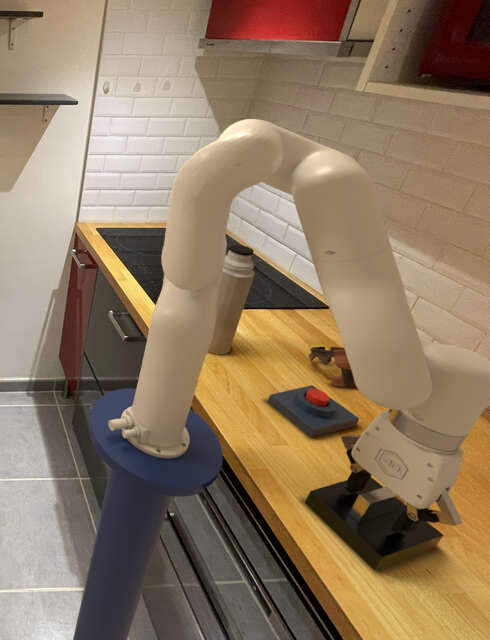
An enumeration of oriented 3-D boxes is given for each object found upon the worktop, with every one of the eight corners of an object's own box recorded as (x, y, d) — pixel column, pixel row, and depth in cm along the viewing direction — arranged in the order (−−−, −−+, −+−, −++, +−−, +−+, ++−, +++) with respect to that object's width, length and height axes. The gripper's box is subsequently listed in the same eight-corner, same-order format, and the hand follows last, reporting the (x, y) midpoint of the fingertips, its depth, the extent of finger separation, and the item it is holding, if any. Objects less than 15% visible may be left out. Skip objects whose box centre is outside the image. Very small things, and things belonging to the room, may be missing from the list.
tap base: (374, 569, 66) (382, 557, 65) (304, 502, 76) (310, 490, 75) (435, 547, 70) (444, 535, 68) (360, 485, 79) (367, 473, 78)
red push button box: (310, 437, 89) (317, 422, 87) (267, 402, 98) (272, 387, 96) (355, 426, 92) (362, 411, 90) (309, 392, 101) (315, 378, 99)
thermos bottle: (201, 331, 122) (227, 238, 110) (233, 344, 117) (265, 247, 105) (191, 344, 116) (218, 247, 105) (224, 358, 111) (257, 258, 100)
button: (317, 408, 91) (320, 402, 91) (300, 396, 95) (303, 390, 94) (330, 405, 92) (333, 399, 92) (314, 393, 95) (316, 387, 95)
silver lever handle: (358, 523, 70) (370, 503, 68) (348, 513, 71) (359, 493, 69) (400, 509, 72) (412, 489, 70) (389, 500, 73) (401, 480, 72)
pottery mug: (319, 387, 103) (314, 351, 104) (305, 379, 112) (300, 345, 113) (385, 388, 98) (379, 350, 99) (365, 379, 107) (360, 345, 108)
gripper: (344, 388, 71) (306, 468, 78) (486, 483, 56) (423, 571, 63) (378, 380, 73) (338, 459, 80) (525, 470, 57) (459, 557, 65)
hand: (376, 508), depth 71 cm, fingers open, 6 cm apart
